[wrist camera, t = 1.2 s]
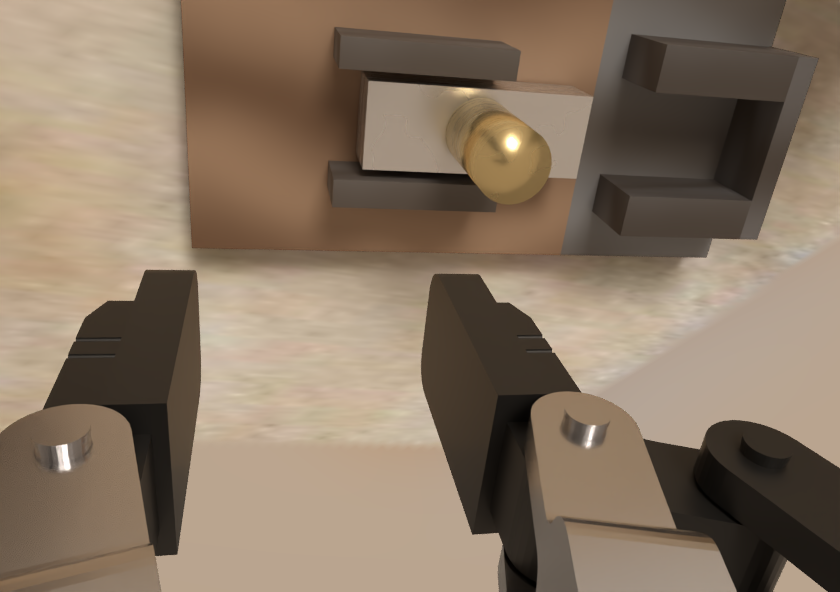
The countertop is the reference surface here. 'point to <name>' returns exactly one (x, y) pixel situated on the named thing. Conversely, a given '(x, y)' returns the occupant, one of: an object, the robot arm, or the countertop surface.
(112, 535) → the robot arm
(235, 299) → the countertop surface
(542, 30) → the door board
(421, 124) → the lock bolt
